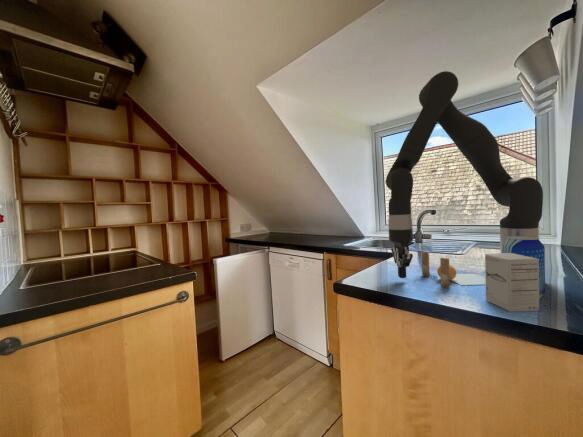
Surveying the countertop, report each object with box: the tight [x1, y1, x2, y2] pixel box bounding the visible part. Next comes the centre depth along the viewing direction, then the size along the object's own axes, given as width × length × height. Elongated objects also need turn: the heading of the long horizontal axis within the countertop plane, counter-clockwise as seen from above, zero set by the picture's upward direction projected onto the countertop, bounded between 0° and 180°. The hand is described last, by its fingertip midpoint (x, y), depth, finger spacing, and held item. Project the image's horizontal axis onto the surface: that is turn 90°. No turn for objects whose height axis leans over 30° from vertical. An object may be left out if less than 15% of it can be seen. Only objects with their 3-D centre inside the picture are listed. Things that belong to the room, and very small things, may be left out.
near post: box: [439, 257, 451, 289], centre depth 76 cm, size 2×2×9 cm
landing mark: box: [450, 273, 486, 287], centre depth 82 cm, size 12×12×1 cm
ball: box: [436, 264, 457, 281], centre depth 82 cm, size 6×6×6 cm
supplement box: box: [484, 253, 540, 313], centre depth 60 cm, size 7×7×13 cm
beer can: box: [502, 236, 546, 299], centre depth 67 cm, size 8×8×16 cm
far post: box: [420, 250, 431, 278], centre depth 89 cm, size 2×2×9 cm
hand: (402, 277), depth 83 cm, fingers closed
